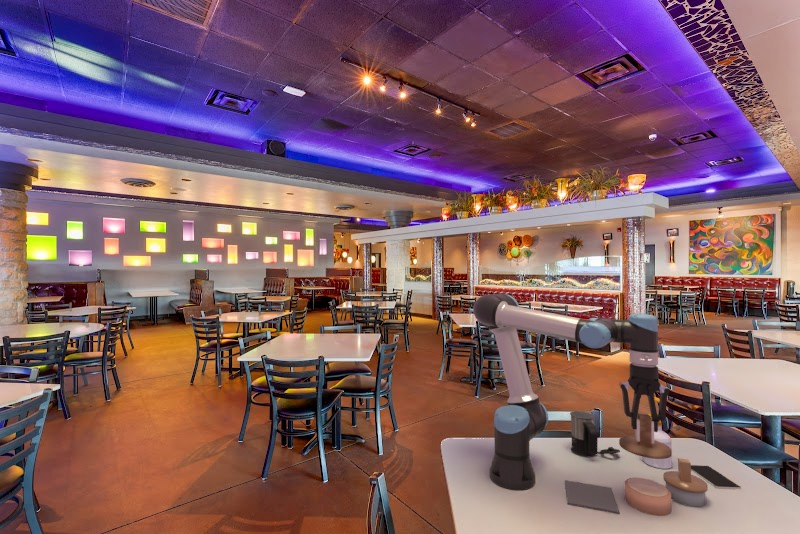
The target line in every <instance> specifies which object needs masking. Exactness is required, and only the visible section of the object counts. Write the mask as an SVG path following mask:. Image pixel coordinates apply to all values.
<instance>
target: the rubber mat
mask: <svg viewBox="0 0 800 534" xmlns="http://www.w3.org/2000/svg"><path fill="white" fill-rule="evenodd" d="M564 483H565V484H564V485H565V492H566V494H565V495H566V499H567V500H566V502H567V505H568V506H573V507H574V506H575V507H578V508H580V507H581V508H584V509H590V510H595V511H601V512H605V513H611V514H617V515H620V509H619V506H618V503H617V501H616V497H615V494H614V491H613V488H612V487H609V486H604V485H603V486H602V485H599V484H598V485H597V484H591V483H584V482H580V481H572V480H568V479H567V480H566V479H565V480H564Z"/></svg>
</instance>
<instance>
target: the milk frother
mask: <svg viewBox="0 0 800 534" xmlns="http://www.w3.org/2000/svg"><path fill="white" fill-rule="evenodd" d="M569 415H570V427H571V428H570V429H571V433H570V434H571V447H570V451H571V452H572V453H574V454H575V455H577V456H582V457H589V458H590V457H595V456H596V455H601V454H602V455H603V454H604V455H605V454H606V455H607V454H608V455H616V454H618V453H621V450H620V449H616V448H614V447H613V446H609V447H607V448H605V449H602V450H600V451H598V439H599V438H598V436H599V435H598V429H597V427H596V425H595V422H596V421H595V418H596V415H595V414H593V413H591V412H587V411H582V410H579V411H578V410H574V411H571V412H570V413H569Z"/></svg>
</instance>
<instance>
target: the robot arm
mask: <svg viewBox="0 0 800 534" xmlns="http://www.w3.org/2000/svg"><path fill="white" fill-rule="evenodd" d="M472 311H473V315H474V318H475V319H476V320H477V321H478V323H480V324H483V325H484V326H488V329H489V331H490V332H491V333H493V334H494V338H495V342H496V345H497V350H498V352H499V353H498V354H499V357H500V360H501V361H500V362H501V364H502V369H503V374H504V378H505V382H506V385H507V388H508V393H509V397H508V399H507V400H506V401H507V402H506V403H507V405H503V406H500V407H498V408H497V409H496V410H495V412H494V418H493V427H494V432H493V434H494V435H493V436H494V455H493V458H492V461H491V464H490V468H489V477H490V480H491V482H493V483H494V484H496V485H498V486H500V487H502V488H504V489H508V490H514V491H515V490H516V491H517V490H518V491H519V490H520V491H523V490H529V489H531V488H533V487H534V486H535V484H536V473H535V470H534V467H533V464H532V460H531V458H530V455H531V454H530V442H531V440H533V439H535V437H536V436H539V435H540V434H541V433H543V432H544V430H545V428H546V427H547V425H548V423H549V413H548V410H547V409H546V407H545V405H544V404H543V403H541V402H540V398H539V396H538V395H537V394H535V392H534V391H533V388H532V385H531V384H532V383H531V379H530V375H529V373H528V368H527V366H526V361H525V357H524V352H523V351H522V346H521V342H520V339H519V335H518V330H522V331H527V332H530V333H535V334H539V335H544V336H549V337H553V338H558V339H561V340H562V339H563V340H565V341H571V342H575V343H580V344H583V345H584V346H586V347H587V348H590V349H601V348H604V347H605V346H607V345H608V344H610V343H620V344H627V345H629V346H628V347H629V362H630V364H629V378H628V379H627V381H626V382H625V381H624V382H619V383H618V385H619V387H620V389H621V391H622V392H621V394H622V403H623V410H624V411H623V412H624V414H625V416H626V417H629V418H630V422H631V423H630V424H631V428H632V430H634V436H635V438H636V440H637V441H638V442H640V420H639V419H638V414H639V408H640V402H641V398H642V396H647V400H648V405H649V411H650V412H649V413H651V439H652V443H653V444H654V432H657V431H658V422H659V423H660V421H665V420H666V412H667V404H668V403H667V400H668V397H669V394H670V393H671V390H670V388H669V387H667V386H664V385H662V384H661V383H660V379H659V367H658V365H659V330H658V329H659V328H658V319H657V317H656V316H655V315H653V314H647V313H646V314H645V313H644V314H643V313H639V314H638V313H631V314H630V315H629V316H628V319H618V318H617V319H615V318H605V317H604V318H603V317H591V318H589V319H583V318H580V317H573V316H568V315H564V314H558V313H553V312H547V311H543V310H538V309H531V308H526V307H521V306H519V303H518V301H517V300H516V299H515V298H514V297H513V296H512V295H510V294H506V293H493V294H483V295H481V296H480V297H478V298H477V299H476V300H475V302H474V303H473V310H472ZM517 329H518V330H517ZM629 387H631V389H632V390H633V400H632V404H631V410H630V399H629V398H630V397H629V392H628V391H629ZM658 390H659V392H660V394H659V399H660V401H659V402H658V410H657V406H656V401H655V400H654V399H655V398H654V397H655V394H656V392H657V391H658ZM657 414H658V415H657Z"/></svg>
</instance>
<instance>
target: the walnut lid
mask: <svg viewBox="0 0 800 534" xmlns="http://www.w3.org/2000/svg"><path fill="white" fill-rule="evenodd" d="M637 417H638V419H639V420H640V442H638V441H637V440H636V438H635V435H626V436H622V437H620V438H619V439H618V441H619V442H618V444H619V446H620V448H622V449H623V450H625V451H626V452H628V453H631V454H633V455H635V456H639V457H642V458H643V457H647V458H653V459H666V458H669V457H671V456H672V457H673V450H671V449H670V448H669V447H668V446H667V445H665V444H663V443H661V442H659V441H656V440H654V444H653V443H652V439H651V419H652V417H650V416H649V415H648V414H645V413H638V415H637Z"/></svg>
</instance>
